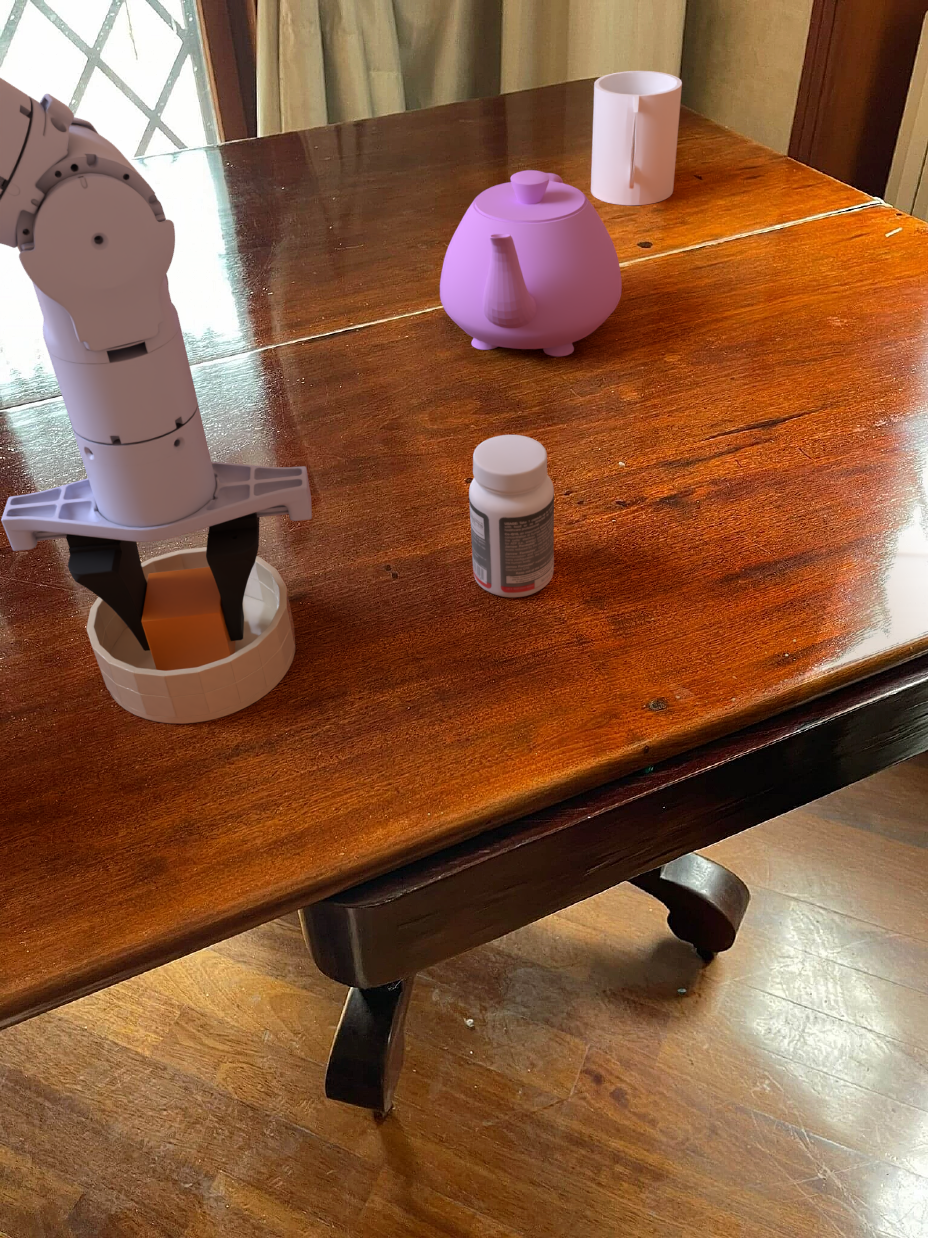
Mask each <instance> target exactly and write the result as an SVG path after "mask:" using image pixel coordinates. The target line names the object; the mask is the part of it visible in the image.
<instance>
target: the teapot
mask: <svg viewBox="0 0 928 1238" xmlns="http://www.w3.org/2000/svg"><path fill="white" fill-rule="evenodd" d="M509 179H510V181H509V182H504V183H500V184H496V185H494V186H491V187H489V188H487V189H485V190H483V191H482V192H480V193H479V194H478V195H477V196H475V198H474V199H473V201H472V202H471V203H470V205H469V207H468V208H467V210H466V211H465V213H464V215H463V216H462V218H461V221H459V224H458V226H457V228H456V229H455V231H454V233H453V235H452V237H451V239H450V242H449V244H448V246H447V249H446V252H445V255H444V258H443V263H442V269H441V273H440V279H439V280H440V281H439V300H440V302H441V305H442V307H443V310H444V312H445V313H446V314H447V316H449V318H450V319H451V320H452V321H453V322H454V324H456V325H457V326H458V327H459V328H460V329H461V330H462V331H464V332H465V333H466V334H467V335H468V336H470V337H471V338H472V340H471V342H470V345H471V346H472V347H474V348H475V349H477V350H482V351H487V350H493V349H496V348H498V347H500V348H507V349H513V350H514V349H517V350H539V349H542V351H543V352H544V353H545V354H546V355H548V356H551V357H565V356H569V355H570V354H572V353H573V352H574V351H575V347H574V345H573V343H575V342H577V341H578V342H579V341H580V340H582V339H585V338H586V337H588V336H590V335H591V334H592V333H594V332H595V331H596V330H597V329H598V328H599V327H600V326H602V325H603V324H604V323H605V321H607V320H608V318H609V317H610V316H611V314H613V313H614V311H615V310H616V308H617V306H618V305H619V303H620V299H621V297H622V274H621V267H620V262H619V256H618V254H617V251H616V248H615V245H614V242H613V239H612V237H611V235H610V233H609V231H608V229H607V227H606V225H605V224H604V221H603V220H602V218H601V216H600V215H599V213H598V212H597V210H596V208H595V206H594V205H593V204H592V202H591V201H590V200H589V198H588V197H587V196H586V194H585V193H584V192H582V191H581V190H580V189H579V188H577V187H574V186H572V185H569V184H568V183H564V181H563V179H562V177H561V176H560V175H558V174H556V173H552V172H544V171H541V170H536V169H534V170H533V169H527V170H521V171H518V172H516V173H513V174H512V175H511V176H510V178H509Z"/></svg>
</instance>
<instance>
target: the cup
mask: <svg viewBox="0 0 928 1238" xmlns="http://www.w3.org/2000/svg"><path fill="white" fill-rule="evenodd" d="M593 84H594V85H593V115H592V143H591V169H590V170H591V171H590V173H591V174H590V193H591V195H592V196H593V197H594V198H596V199H597V200H599V201H601V202H604V203H609V204H613V205H618V206H644V205H652V204H656V203H659V202H663V201H665V200H666V199H668V198H670V197H671V196H672V194H673V193H674V185H675V184H674V183H675V171H676V162H677V161H676V159H677V148H678V147H677V146H678V137H679V136H678V135H679V123H680V112H681V99H682V86H683V82H682V79H680V78H679V77H678V76H675V75H673V74H670V73H666V72H661V71H653V70H626V71H618V72H612V73H609V74H605V75H602V76H600V77H599V78H597V79H596V80H595V81H594V83H593Z"/></svg>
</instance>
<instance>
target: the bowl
mask: <svg viewBox="0 0 928 1238" xmlns="http://www.w3.org/2000/svg"><path fill="white" fill-rule="evenodd" d="M206 550H207V546H203V547H194V548H183V549H177V550H174V551H171V552H168V553H164V554H161V555H157V556H154V557H151V558H149V559H146V560H145V561H143V562H141V565H142V569H143V573H144V576H145V579H146V581H148V575H149V573H158V572H167V571H176V570H185V569H194V568H204V567H209V565H208V562H207V558H206ZM289 598H290V597H289V592H288V588H287V585H286V583H285V582H284V579H283V578H282V576H281V574H280V572H279V570H278V569H277V568H276V567H274V566H273V565H271V564H270V563H269V562H267V561H266V560H265V559H263V558H262V557H260V556H258V555H257V556H256V560H255V564H254V566H253V568H252V570H251V573H250V576H249V578H248V582H247V585H246V589H245V593H244V598H243V612H244V634H243V639H242V640H238V641H235V653H234V654H232V655H230V656H229V657H227V658H224V659H221V660H218V661H215V662H212V663H209V664H206V665H203V666H199V667H195V668H186V669H178V670H169V671H163V670H156V667H155V663H154V660H153V657H152V654H151V651H145V650H143V648H142V646H141V645H140V643H139V642H138V640H137V639H136V637H135V636H134V634H133V633H132V632H131V630H130V629H129V628H128V626H127V625H126V624H125V623H124V621H123V620H122V619H121V618H120V617H119V616H118V614H117V613H116V612H115V611H114V610H113V609H112V608H111V607H110V606H109V605H108V604H107V603H105V602H104V601H103V600H102V599H101V598H100V597H98V596H97V598H96V600H95V601H94V603H93V604H92V605H91V607H90V609H89V614H88V619H87V625H86V633H87V635H88V638H89V642H90V645H91V648H92V651H93V654H94V657H95V660H96V662H97V664H98V667H99V670H100V673H101V675H102V679H103V682H104V684H105V687H106V689H107V691H108V692H109V694H110V696H111V698H112V699H114V701H115V702H116V703H117V704H118V705H119V706H121V708H123V709H124V710H125V711H127V712H129V713H130V714H132V715H134V716H137V717H139V718H142V719H144V720H148V721H153V722H156V723H163V724H181V725H183V724H195V723H202V722H203V723H204V722H209V721H212V720H213V721H214V720H216V719H219V718H220V719H221V718H224V717H226V716H229V715H232V714H235V713H237V712H239V711H242V710H243V709H246V708H247V707H250V706H251V705H253V704H254V703H256V702H258V701H259V700H261V699H262V698H264V697H265V696H266V695H268V694H269V693H270V692H271V691H272V690H273V689H274V688H275V687H277V685H279V683H280V682H281V681H282V680H283V679H284V677H285V676H286V674H287V673H288V672H289V669H290V667H291V665H292V663H293V661H294V657H295V653H296V644H297V642H296V633H295V624H294V618H293V614H292V609H291V602H290V599H289Z"/></svg>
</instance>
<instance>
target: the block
mask: <svg viewBox="0 0 928 1238" xmlns="http://www.w3.org/2000/svg"><path fill="white" fill-rule="evenodd" d="M141 622H142V625H143V628H144V631H145V635H146V638H147V641H148V644H149V647H150V651H151V654H152V657H153V660H154V663H155V667H156V670H163V671H169V670H178V669H186V668H195V667H199V666H203V665H206V664H209V663H212V662H215V661H218V660H221V659H224V658H227V657H229V656H230V655H232V654H234V653H235V641H231V640H230V637H229V634H228V631H227V627H226V624H225V618H224V612H223V605H222V600H221V597H220V594H219V590H218V587H217V584H216V582H215V579H214V576H213V574H212V571H211V569H210V567H204V568H194V569H185V570H176V571H167V572H158V573H149V575H148V581H147V588H146V595H145V601H144V608H143V615H142V621H141Z"/></svg>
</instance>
